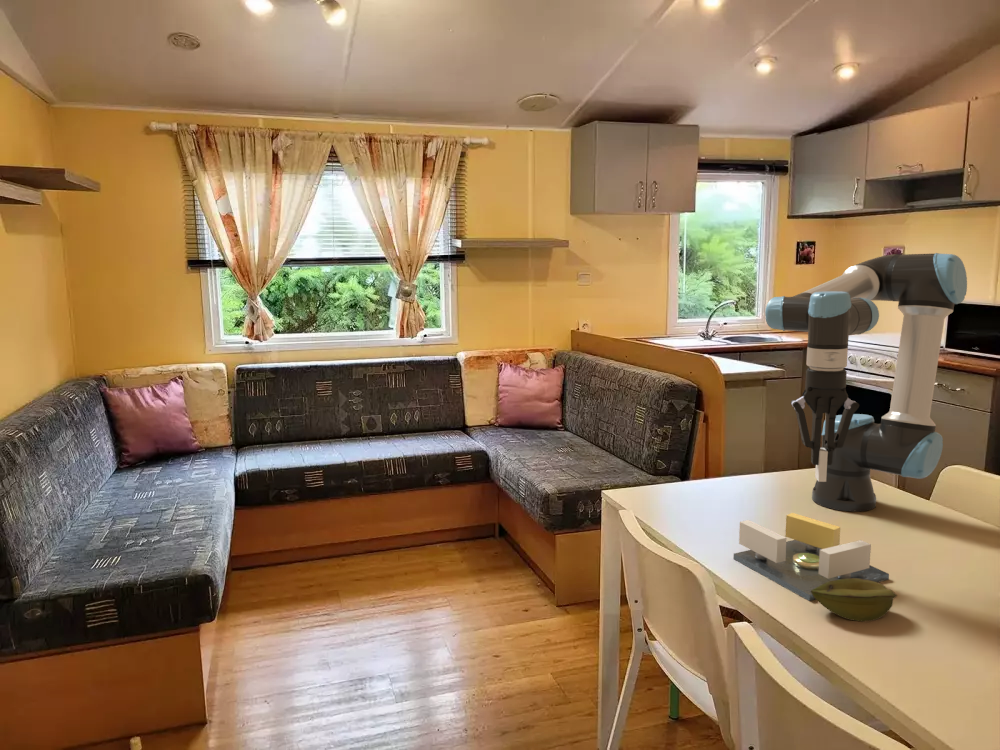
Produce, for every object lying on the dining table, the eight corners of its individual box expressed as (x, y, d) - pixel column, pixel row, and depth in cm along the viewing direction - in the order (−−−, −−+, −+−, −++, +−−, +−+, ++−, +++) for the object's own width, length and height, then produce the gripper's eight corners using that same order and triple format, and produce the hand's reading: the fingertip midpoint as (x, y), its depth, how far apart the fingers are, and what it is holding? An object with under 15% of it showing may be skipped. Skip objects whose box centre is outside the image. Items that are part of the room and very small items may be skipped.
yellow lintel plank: (785, 541, 158) (786, 515, 157) (791, 539, 159) (792, 512, 158) (832, 557, 149) (834, 529, 148) (838, 554, 150) (840, 527, 149)
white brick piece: (858, 568, 143) (860, 540, 142) (869, 573, 141) (871, 544, 140) (818, 579, 139) (819, 549, 138) (827, 584, 137) (829, 554, 136)
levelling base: (807, 541, 161) (807, 530, 160) (888, 579, 142) (889, 566, 141) (733, 558, 153) (733, 546, 153) (809, 601, 134) (810, 587, 133)
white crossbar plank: (738, 548, 155) (739, 521, 154) (747, 546, 155) (748, 520, 154) (776, 568, 145) (777, 539, 144) (785, 566, 145) (786, 537, 144)
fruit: (879, 636, 121) (881, 600, 120) (807, 613, 129) (809, 580, 128) (898, 611, 129) (901, 578, 128) (830, 591, 138) (831, 559, 136)
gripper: (796, 370, 141) (791, 484, 145) (866, 371, 139) (859, 486, 143) (788, 365, 148) (783, 473, 152) (854, 365, 146) (848, 475, 150)
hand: (820, 479), depth 147 cm, fingers closed
